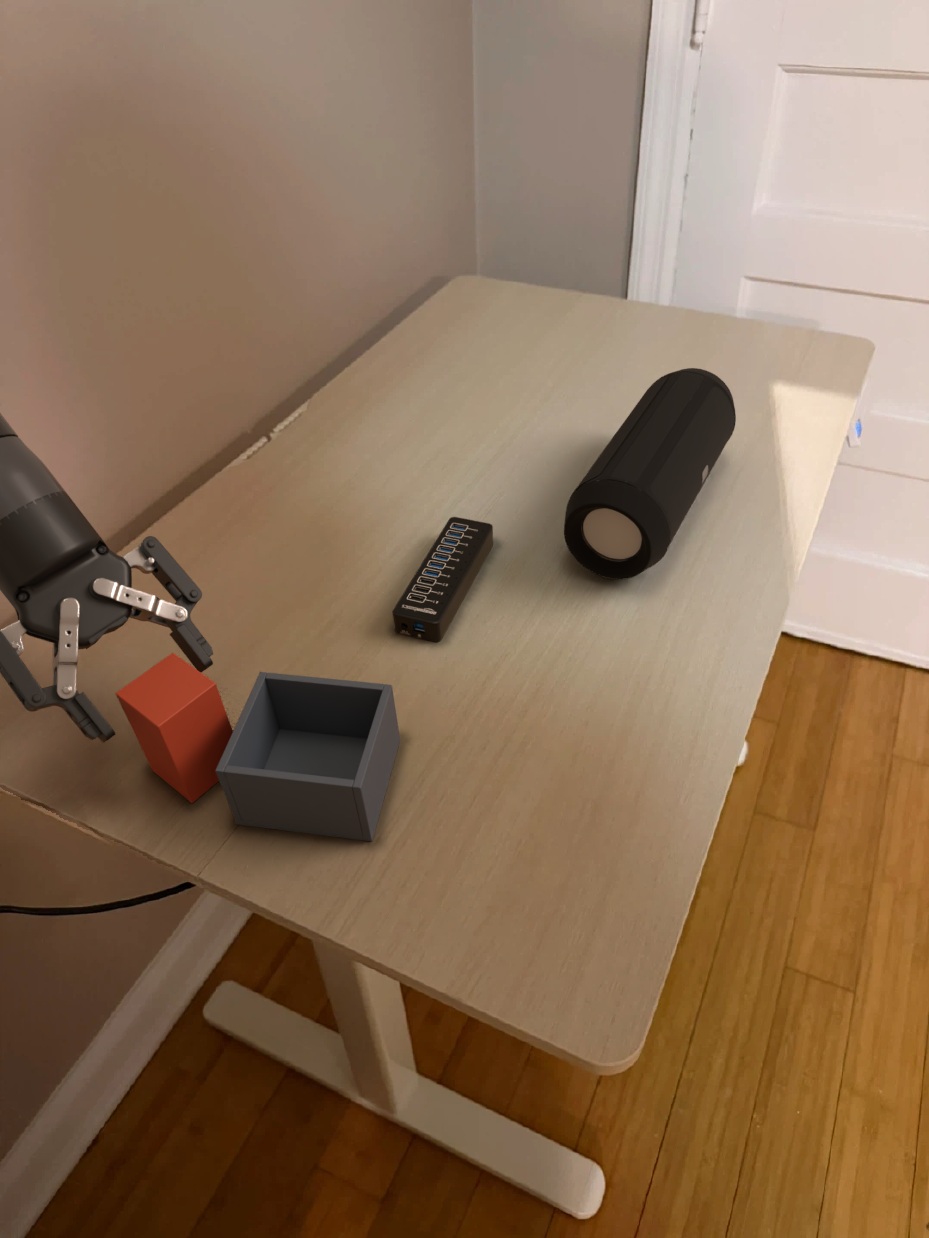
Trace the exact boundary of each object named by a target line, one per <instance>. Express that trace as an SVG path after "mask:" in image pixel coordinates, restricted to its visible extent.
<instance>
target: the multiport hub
mask: <svg viewBox="0 0 929 1238" xmlns="http://www.w3.org/2000/svg"><path fill="white" fill-rule="evenodd" d="M493 526H494V525H493V524H491V523H489V522H483V521H479V520H473V519H470V518H469V519H468V518H463V517H458V516H451V517H449V519H448V520H447V521H446V523H445V525H444V526H443V528H442V530H441V532H439V535H437V538H436V539H435V541H434V542H433V544H432V546H431V547H430V549H429V551H428V553H427V555H426V556H425V557H424V559H423V561H422V562H421V564H420V566H419V567H418V569H417V570H416V572H415V573H414V575H413V577H412V578H411V580H410V582H409V583H408V585H407V587H406V588H405V590H404V592H403V593H402V595H401V596H400V598H399V599H398V601H397V603H396V604H395V606H394V607H393V609H392V619H393V621H392V622H393V627H394V631H395V633H396V634H399V635H404V636H408V637H412V638H417V639H419V640H424V641H428V642H433V643H439V642H441V641H442V640H443V638H444V636H445V634H446V632H447V630H448V629H449V627H450V625H451V623H452V621H453V620H454V618H455V615H456V614H457V613H458V610H459V608H460V606H461V605H462V603H463V601H464V600H465V597H466V596H467V594H468V592H469V590H470V588H471V587H472V584H473V583H474V581H475V579H476V577H477V576H478V573H479V572H480V570H481V568H482V566H483V565H484V563H485V561H486V559H487V557H488V555H489V554H490V552H491V550H492V548H493V546H494V527H493Z"/></svg>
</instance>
